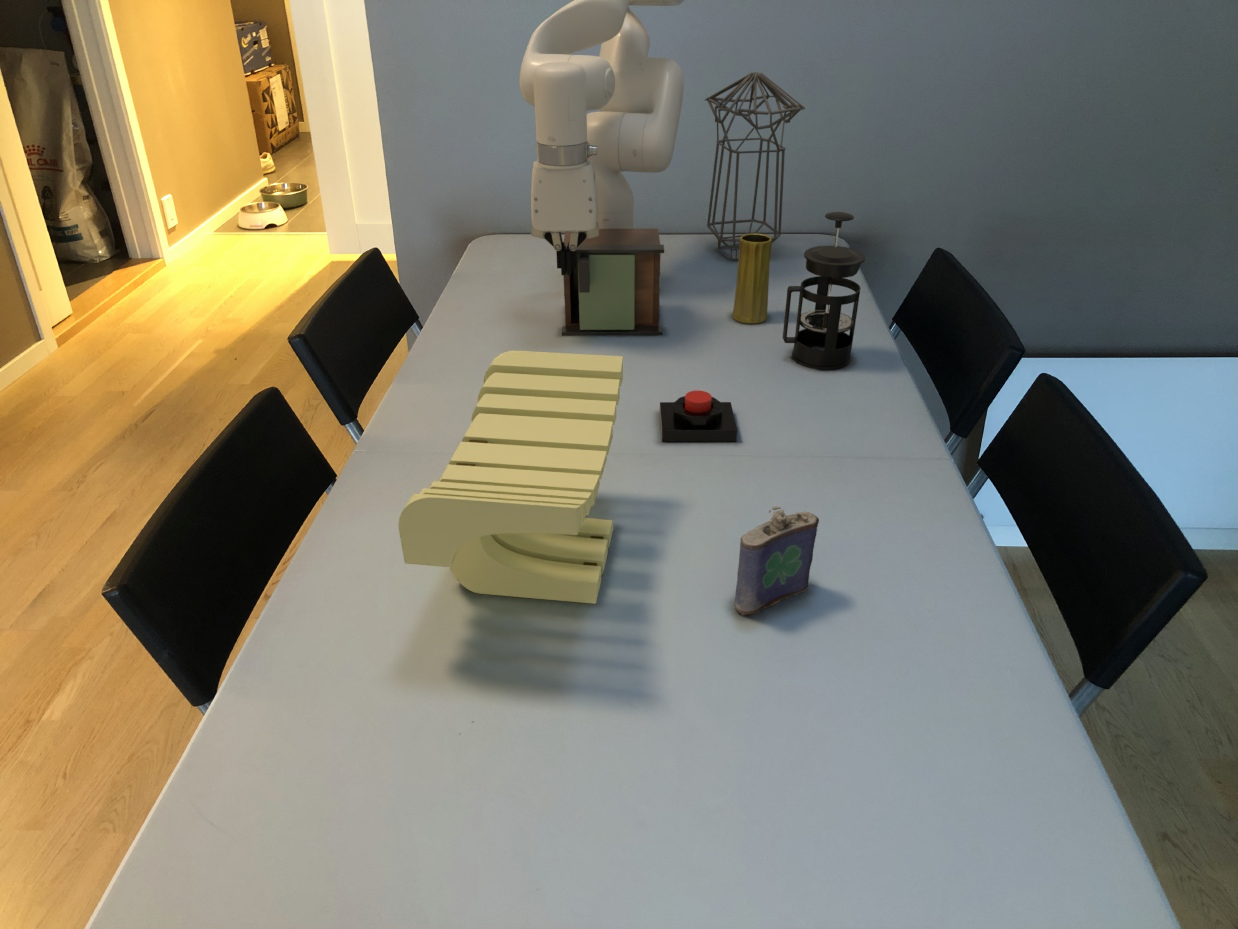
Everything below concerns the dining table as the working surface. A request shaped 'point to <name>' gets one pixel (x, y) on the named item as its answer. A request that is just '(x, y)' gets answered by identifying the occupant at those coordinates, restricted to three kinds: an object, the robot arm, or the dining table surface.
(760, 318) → the vase
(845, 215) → the french press
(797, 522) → the flask
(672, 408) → the control block
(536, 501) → the slatted curved stool
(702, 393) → the button
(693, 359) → the dining table surface
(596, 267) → the door
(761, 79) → the geometric lantern
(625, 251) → the cupboard
